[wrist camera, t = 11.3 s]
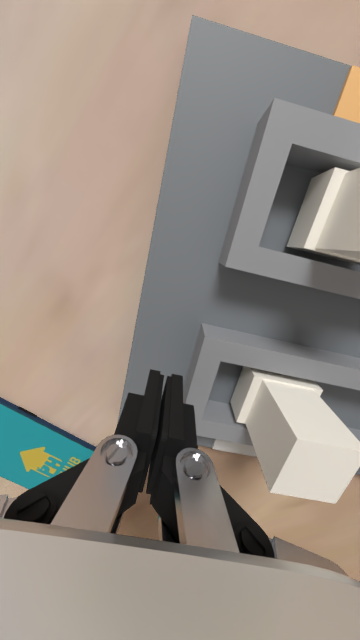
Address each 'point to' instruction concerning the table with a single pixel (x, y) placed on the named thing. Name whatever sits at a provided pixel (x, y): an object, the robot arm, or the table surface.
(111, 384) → the table surface
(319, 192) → the tab
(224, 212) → the switch board
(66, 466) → the smartphone
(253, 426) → the tab
